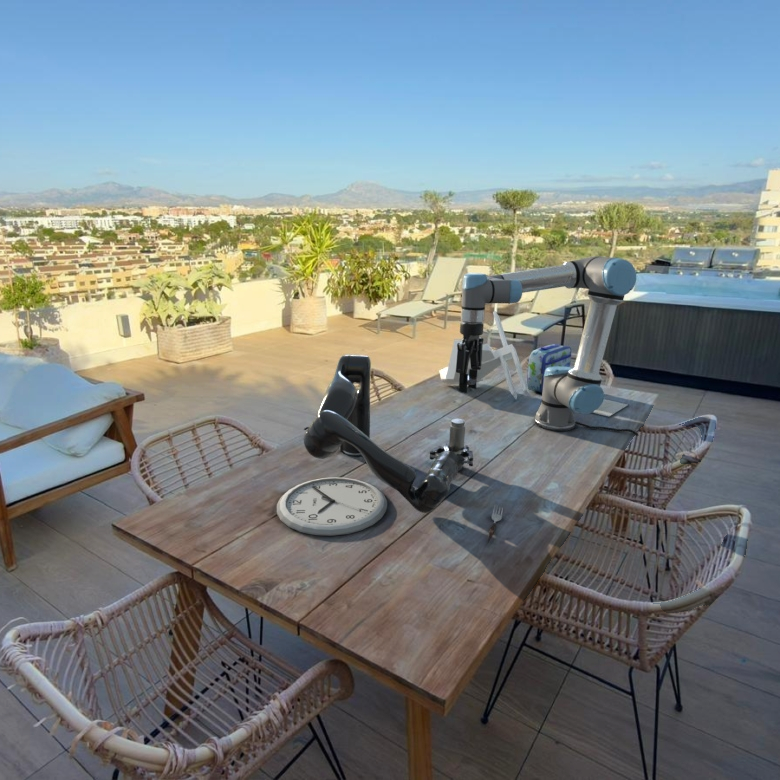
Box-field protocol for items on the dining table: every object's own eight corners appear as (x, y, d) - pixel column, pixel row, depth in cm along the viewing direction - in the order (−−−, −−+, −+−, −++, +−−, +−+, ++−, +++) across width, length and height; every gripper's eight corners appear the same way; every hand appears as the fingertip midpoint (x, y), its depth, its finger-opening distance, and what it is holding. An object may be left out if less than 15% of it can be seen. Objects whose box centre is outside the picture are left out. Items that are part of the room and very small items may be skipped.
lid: (463, 379, 180) (463, 374, 179) (479, 382, 177) (479, 377, 177) (456, 383, 175) (456, 378, 174) (472, 386, 172) (473, 381, 172)
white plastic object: (461, 429, 252) (437, 405, 227) (444, 352, 274) (420, 323, 250) (535, 404, 240) (518, 377, 215) (510, 326, 262) (492, 293, 237)
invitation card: (608, 416, 214) (573, 407, 224) (608, 416, 214) (573, 408, 224) (628, 404, 229) (594, 396, 238) (628, 405, 229) (594, 397, 238)
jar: (464, 470, 165) (467, 423, 160) (449, 471, 164) (452, 423, 159) (460, 464, 169) (463, 418, 164) (446, 464, 169) (449, 418, 164)
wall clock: (392, 527, 129) (268, 531, 127) (391, 533, 130) (269, 537, 127) (383, 473, 158) (282, 475, 155) (383, 478, 158) (282, 480, 156)
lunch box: (543, 396, 238) (548, 352, 231) (522, 391, 245) (526, 347, 239) (570, 385, 255) (575, 343, 249) (550, 381, 262) (555, 340, 256)
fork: (482, 542, 127) (483, 535, 126) (493, 511, 141) (494, 504, 140) (493, 545, 126) (494, 538, 125) (503, 513, 140) (503, 506, 140)
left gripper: (421, 475, 155) (436, 453, 171) (468, 484, 151) (479, 460, 166) (421, 452, 153) (437, 432, 168) (470, 460, 148) (481, 438, 164)
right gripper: (475, 317, 179) (471, 382, 186) (447, 324, 165) (443, 394, 172) (495, 319, 175) (490, 386, 182) (467, 327, 161) (463, 398, 168)
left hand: (458, 446), depth 167 cm, fingers closed on jar, 4 cm apart
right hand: (467, 389), depth 177 cm, fingers closed on lid, 6 cm apart
